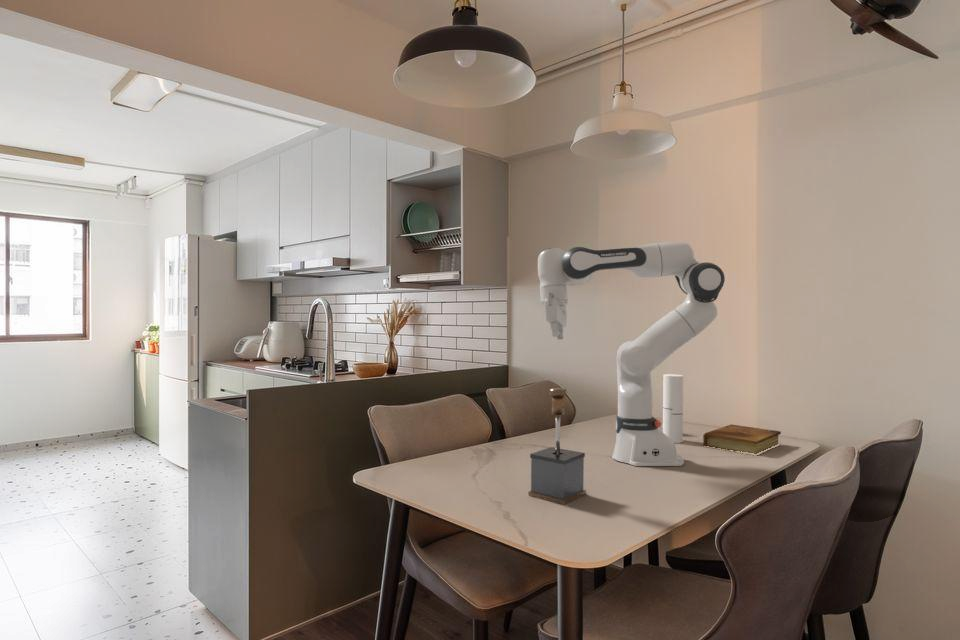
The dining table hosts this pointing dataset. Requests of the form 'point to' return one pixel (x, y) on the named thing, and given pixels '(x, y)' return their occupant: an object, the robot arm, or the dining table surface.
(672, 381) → the cylindrical container
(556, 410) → the plunger
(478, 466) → the dining table surface
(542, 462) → the grey box
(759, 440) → the diary
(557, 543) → the dining table surface
